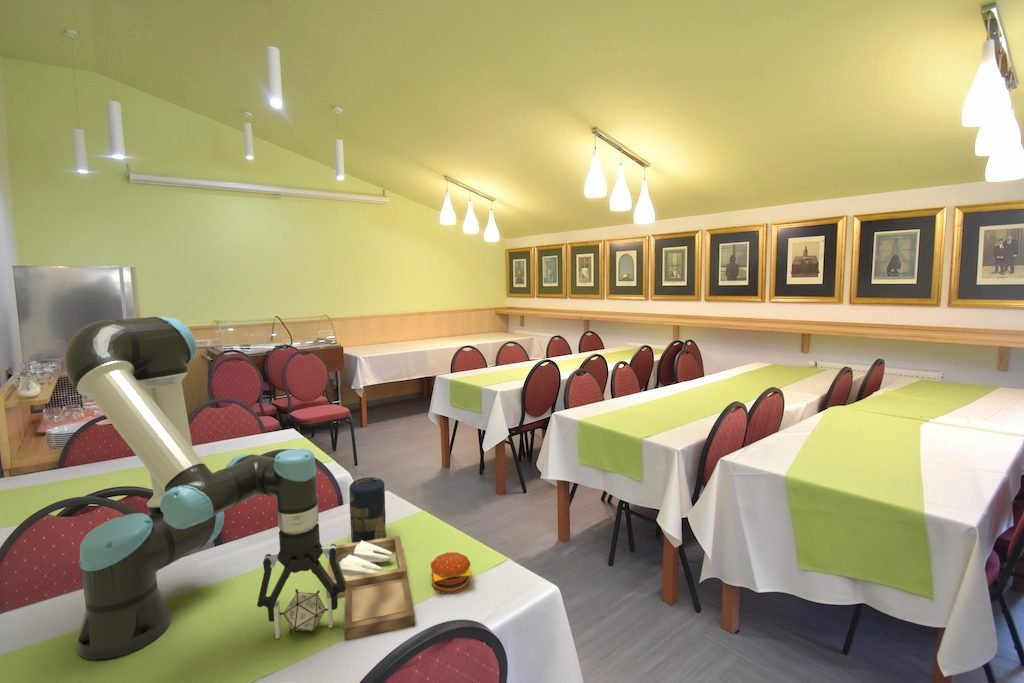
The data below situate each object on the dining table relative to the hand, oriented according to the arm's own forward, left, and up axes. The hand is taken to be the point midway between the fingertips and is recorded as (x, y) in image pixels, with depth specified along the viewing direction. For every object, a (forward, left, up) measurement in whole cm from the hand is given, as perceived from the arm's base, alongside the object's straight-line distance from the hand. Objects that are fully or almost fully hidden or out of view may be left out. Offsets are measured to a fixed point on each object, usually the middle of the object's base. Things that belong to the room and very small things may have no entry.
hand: (305, 628), depth 105 cm
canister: (+14, +34, 0) cm, 37 cm away
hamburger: (+32, +7, 0) cm, 33 cm away
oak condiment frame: (+13, +18, 0) cm, 22 cm away
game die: (0, 0, 0) cm, 1 cm away
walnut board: (+15, +1, 0) cm, 15 cm away
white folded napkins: (+13, +18, 0) cm, 22 cm away
